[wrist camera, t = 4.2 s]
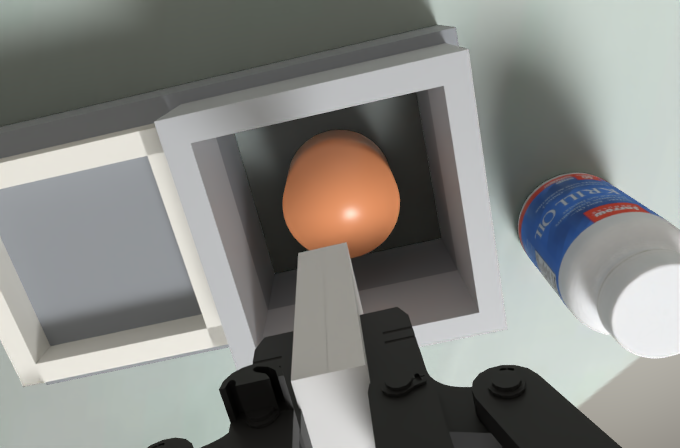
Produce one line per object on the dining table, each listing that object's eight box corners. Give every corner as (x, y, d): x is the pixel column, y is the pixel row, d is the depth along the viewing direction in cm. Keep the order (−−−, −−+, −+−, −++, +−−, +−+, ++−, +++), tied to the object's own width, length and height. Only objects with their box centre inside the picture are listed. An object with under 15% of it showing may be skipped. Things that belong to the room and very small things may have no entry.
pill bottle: (587, 148, 29) (708, 212, 20) (636, 228, 31) (769, 322, 21) (493, 211, 30) (568, 300, 21) (545, 286, 32) (636, 398, 22)
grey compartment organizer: (79, 341, 32) (4, 442, 25) (-13, 129, 28) (-137, 173, 20) (473, 257, 31) (521, 337, 23) (437, 24, 27) (481, 30, 19)
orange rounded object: (301, 238, 29) (298, 269, 26) (276, 142, 28) (269, 162, 24) (398, 216, 29) (409, 245, 25) (379, 119, 27) (387, 135, 24)
